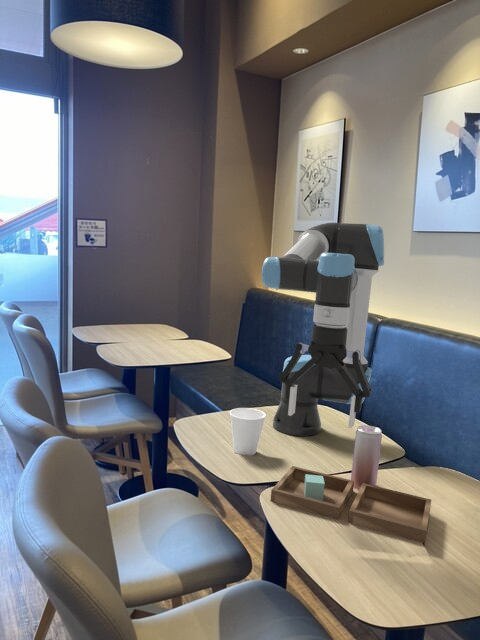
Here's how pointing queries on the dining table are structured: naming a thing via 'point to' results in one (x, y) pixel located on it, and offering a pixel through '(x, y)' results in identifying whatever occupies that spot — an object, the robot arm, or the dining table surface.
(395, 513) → the tray
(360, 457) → the beverage can
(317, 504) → the tray
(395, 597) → the dining table surface
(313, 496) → the teal block
